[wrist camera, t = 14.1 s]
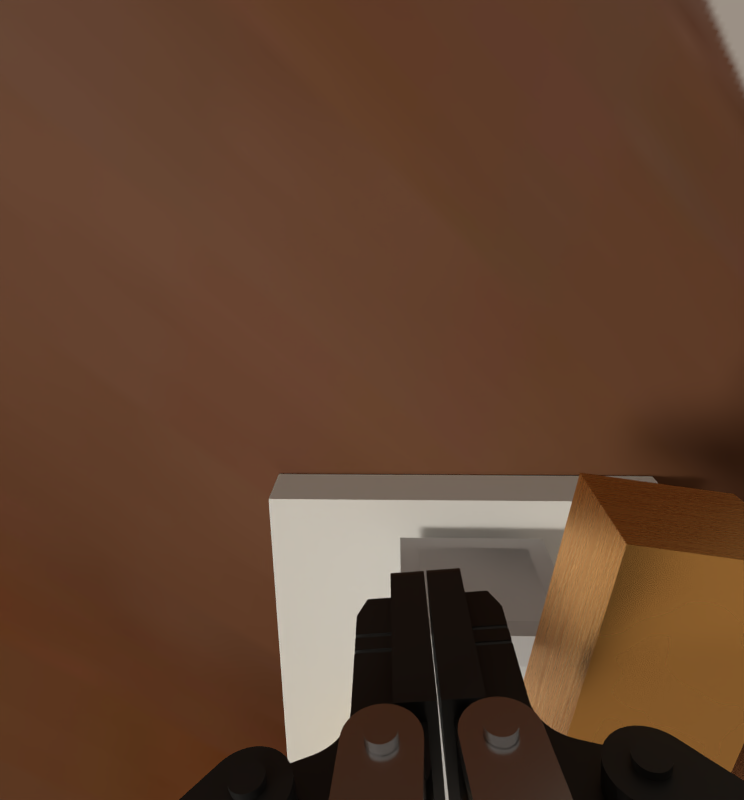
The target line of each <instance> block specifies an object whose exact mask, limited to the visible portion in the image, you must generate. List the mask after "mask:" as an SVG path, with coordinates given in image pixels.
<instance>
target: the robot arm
mask: <svg viewBox="0 0 744 800" xmlns="http://www.w3.org/2000/svg"><path fill="white" fill-rule="evenodd" d="M426 576H427V588H428V601H429V613H430V625H431V635H430V625H429V616H428V606H427V597H426V587H425V578H424V571H413V572H399V573H391V574H390V580H391V598H377V599H367V601H366V602H365V604H364V606H363V607H362V609H361V610H360V612H359V613H358V615H357V620H356V638H355V654H354V667H353V683H352V698H351V713H350V718H349V719H348V720H347V722H346V723H345V724H344V726H343V728H342V730H341V733H340V737H339V738H338V739H337V740H336V741H335V742H334V743H333V744H331V745H330V746H329V747H327V748H326V749H324V750H322V751H321V752H318V753H316V754H314V755H311V756H308V757H306V758H303V759H300V760H297V761H295V762H292V763H290V762H289V760H288V759H287V758H286V756H284V755H283V754H282V753H281V752H279V751H278V750H276V749H273V748H270V747H263V746H256V747H249V748H246V749H242V750H240V751H237V752H235V753H233V754H231V755H230V756H228V757H227V758H225V759H224V760H223V761H222V762H220V763H219V764H218V765H217V766H216V767H215V768H214V769H213V770H211V771H210V772H209V773H208V774H207V775H206V776H205V777H204V778H203V779H202V780H200V781H199V782H198V783H197V784H196V785H195V786H194V787H193V788H192V789H190V790H189V791H188V792H187V793H186V794H185V795H184V796H183V797H182V798H181V799H179V800H445V788H444V776H443V763H442V751H441V738H440V726H439V714H440V724H441V733H442V742H443V752H444V761H445V770H446V780H447V789H448V798H449V800H744V781H743V780H742V779H740V778H738V777H737V776H735V775H734V774H732V773H731V772H729V771H727V770H726V769H724V768H723V767H721V766H720V765H718V764H716V763H715V762H713V761H712V760H710V759H709V758H707V757H706V756H704V755H702V754H701V753H699V752H698V751H696V750H695V749H693V748H691V747H690V746H688V745H687V744H685V743H684V742H682V741H680V740H679V739H677V738H676V737H674V736H672V735H670V734H669V733H666V732H664V731H662V730H659V729H656V728H652V727H647V726H636V725H634V726H626V727H622V728H619V729H617V730H615V731H613V732H612V733H611V734H610V735H609V736H608V737H607V738H606V739H605V741H604V743H603V745H602V744H598V743H593V742H589V741H584V740H580V739H576V738H572V737H569V736H566V735H564V734H561V733H559V732H557V731H556V730H554V729H552V728H551V727H549V726H548V725H547V724H545V723H544V722H543V721H542V720H541V719H540V718H539V716H538V715H537V714H536V713H535V712H534V710H533V708H532V706H531V704H530V701H529V698H528V695H527V691H526V688H525V684H524V681H523V677H522V674H521V670H520V667H519V663H518V660H517V656H516V653H515V649H514V646H513V643H512V639H511V635H510V632H509V628H508V626H507V621H506V618H505V614H504V611H503V607H502V605H501V604H500V603H499V602H498V601H497V600H496V599H495V598H494V597H493V596H492V595H491V594H490V593H489V592H488V591H473V592H465V591H464V586H463V581H462V576H461V571H460V568H452V569H439V570H426ZM431 637H432V644H431ZM432 648H433V654H432ZM433 658H434V663H433ZM434 668H435V673H434ZM435 677H436V682H435ZM436 686H437V692H436ZM437 696H438V701H437ZM438 705H439V714H438Z"/></svg>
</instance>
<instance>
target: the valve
mask: <svg viewBox="0 0 744 800" xmlns="http://www.w3.org/2000/svg"><path fill="white" fill-rule="evenodd" d="M607 477H614V478H622V479H629V480H636V481H643V482H651V483H657V481H656V480H655V479H654V478H653V477H652V476H607ZM578 478H579V476H523V475H362V474H279V475H278V478H277V480H276V483H275V485H274V487H273V490H272V492H271V495H270V497H269V509H270V523H271V537H272V550H273V564H274V578H275V592H276V605H277V619H278V633H279V647H280V660H281V674H282V688H283V702H284V715H285V729H286V743H287V756H288V760H289V762H290V763H292V762H295V761H297V760H300V759H303V758H306V757H308V756H311V755H314V754H316V753H318V752H321V751H322V750H324V749H326V748H327V747H329V746H330V745H331V744H333V743H334V742H335V741H336V740H337V739H338V738H339V737H340V733H341V730H342V728H343V726H344V724H345V723H346V722H347V720H348V719H349V718H350V713H351V698H352V683H353V667H354V654H355V638H356V620H357V615H358V613H359V612H360V610H361V609H362V607H363V606H364V604H365V602H366V601H367V599H377V598H391V580H390V574H391V573H399V572H413V571H424V578H425V587H426V597H427V606H428V616H429V625H430V613H429V601H428V588H427V576H426V570H439V569H452V568H460V571H461V576H462V581H463V586H464V591H465V592H473V591H488V592H489V593H490V594H491V595H492V596H493V597H494V598H495V599H496V600H497V601H498V602H499V603H500V604H501V605H502V607H503V611H504V614H505V618H506V621H507V626H508V628H509V632H510V635H511V639H512V643H513V646H514V649H515V653H516V656H517V660H518V663H519V667H520V670H521V674H522V677H523V680H524V677H525V673H526V669H527V666H528V662H529V658H530V655H531V651H532V647H533V644H534V640H535V636H536V633H537V629H538V625H539V622H540V618H541V614H542V611H543V607H544V603H545V599H546V596H547V592H548V588H549V585H550V581H551V577H552V574H553V570H554V566H555V563H556V559H557V555H558V552H559V548H560V544H561V541H562V537H563V533H564V530H565V526H566V522H567V519H568V515H569V511H570V507H571V504H572V500H573V496H574V493H575V489H576V485H577V482H578ZM430 635H431V625H430ZM431 644H432V637H431ZM432 654H433V648H432ZM433 663H434V658H433ZM434 673H435V668H434ZM435 682H436V677H435ZM436 692H437V686H436ZM437 701H438V696H437ZM438 714H439V705H438ZM439 726H440V738H441V751H442V763H443V776H444V788H445V800H449V798H448V789H447V780H446V770H445V761H444V752H443V742H442V733H441V724H440V714H439Z"/></svg>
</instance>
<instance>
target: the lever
mask: <svg viewBox="0 0 744 800" xmlns="http://www.w3.org/2000/svg"><path fill="white" fill-rule="evenodd" d="M523 681H524V684H525V688H526V691H527V695H528V698H529V701H530V704H531V706H532V708H533V710H534V712H535V713H536V714H537V715H538V716H539V718H540V719H541V720H542V721H543V722H544V723H545V724H547V725H548V726H549V727H551V728H552V729H554V730H556V731H557V732H559V733H561V734H564V735H566V736H569V737H572V738H576V739H580V740H584V741H589V742H593V743H598V744H602V745H603V743H604V741H605V739H606V738H607V737H608V736H609V735H610V734H611V733H612V732H613V731H615V730H617V729H619V728H622V727H626V726H634V725H636V726H647V727H652V728H656V729H659V730H662V731H664V732H666V733H669V734H670V735H672V736H674V737H676V738H677V739H679V740H680V741H682V742H684V743H685V744H687V745H688V746H690V747H691V748H693V749H695V750H696V751H698V752H699V753H701V754H702V755H704V756H706V757H707V758H709V759H710V760H712V761H713V762H715V763H716V764H718V765H720V766H721V767H723V768H724V769H726V770H727V771H729V772H732V769H733V767H734V765H735V762H736V760H737V758H738V756H739V753H740V751H741V749H742V747H743V744H744V502H743V501H741V500H740V499H739V498H738V497H737V496H736V495H735V494H731V493H723V492H716V491H709V490H701V489H694V488H687V487H680V486H672V485H665V484H658V483H651V482H643V481H636V480H629V479H622V478H614V477H607V476H600V475H592V474H585V473H580V474H579V478H578V482H577V485H576V489H575V493H574V496H573V500H572V504H571V507H570V511H569V515H568V519H567V522H566V526H565V530H564V533H563V537H562V541H561V544H560V548H559V552H558V555H557V559H556V563H555V566H554V570H553V574H552V577H551V581H550V585H549V588H548V592H547V596H546V599H545V603H544V607H543V611H542V614H541V618H540V622H539V625H538V629H537V633H536V636H535V640H534V644H533V647H532V651H531V655H530V658H529V662H528V666H527V669H526V673H525V677H524V680H523Z"/></svg>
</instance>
